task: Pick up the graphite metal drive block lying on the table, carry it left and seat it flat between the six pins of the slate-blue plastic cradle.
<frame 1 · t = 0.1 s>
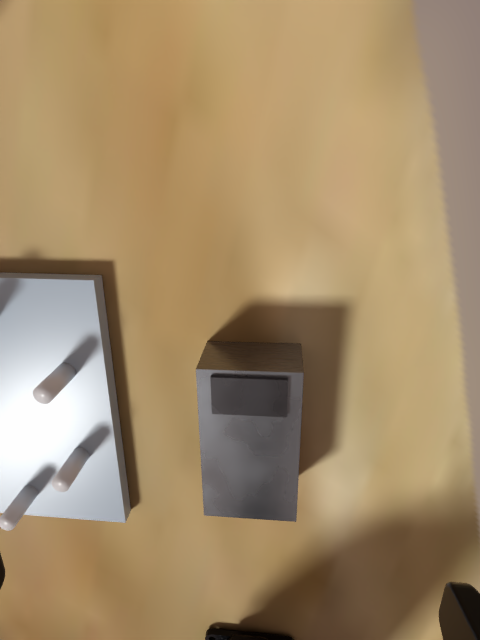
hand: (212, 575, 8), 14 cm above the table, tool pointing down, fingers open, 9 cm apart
drive block: (253, 411, 24), on the table
pin cradle: (21, 401, 25), on the table
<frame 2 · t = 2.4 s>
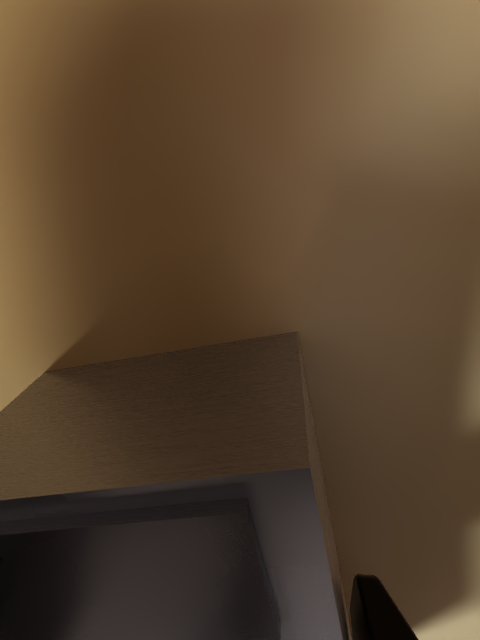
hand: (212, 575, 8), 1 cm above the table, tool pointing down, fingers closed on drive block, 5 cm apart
drive block: (218, 532, 9), on the table, touching gripper
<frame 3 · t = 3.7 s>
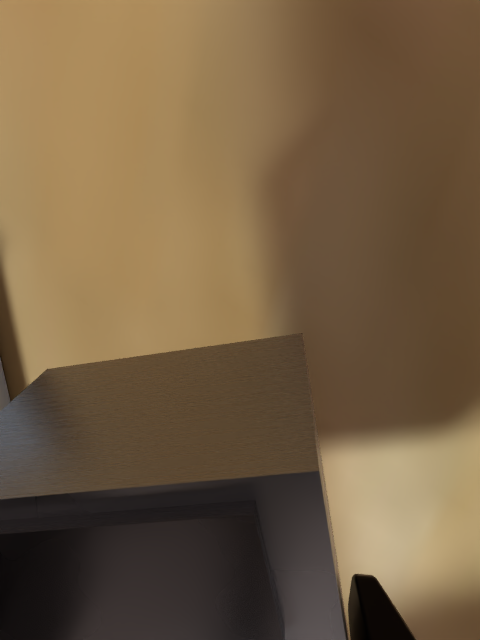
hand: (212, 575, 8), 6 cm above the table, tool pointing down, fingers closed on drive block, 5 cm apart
drive block: (218, 532, 9), point 5 cm above the table, touching gripper
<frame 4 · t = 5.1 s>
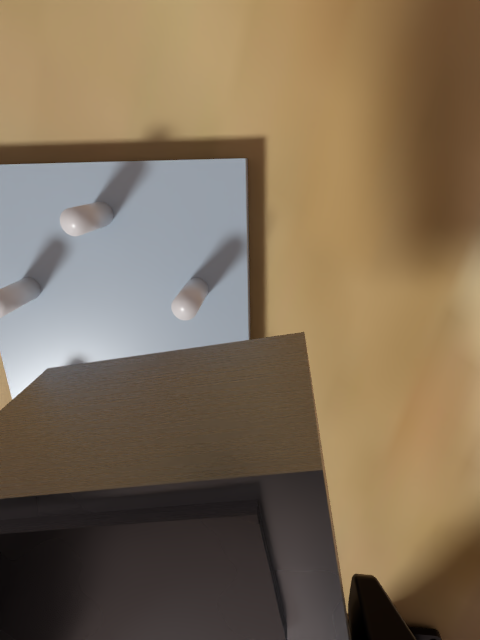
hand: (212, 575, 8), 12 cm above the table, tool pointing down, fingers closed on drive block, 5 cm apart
drive block: (219, 532, 9), point 11 cm above the table, touching gripper
pin cradle: (127, 338, 20), on the table
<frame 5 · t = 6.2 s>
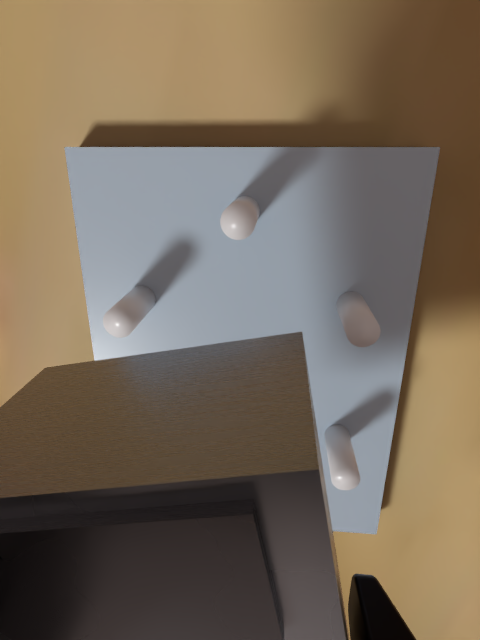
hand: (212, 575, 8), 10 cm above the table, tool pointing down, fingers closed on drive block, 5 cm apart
drive block: (217, 532, 9), point 8 cm above the table, touching gripper
pin cradle: (245, 358, 17), on the table
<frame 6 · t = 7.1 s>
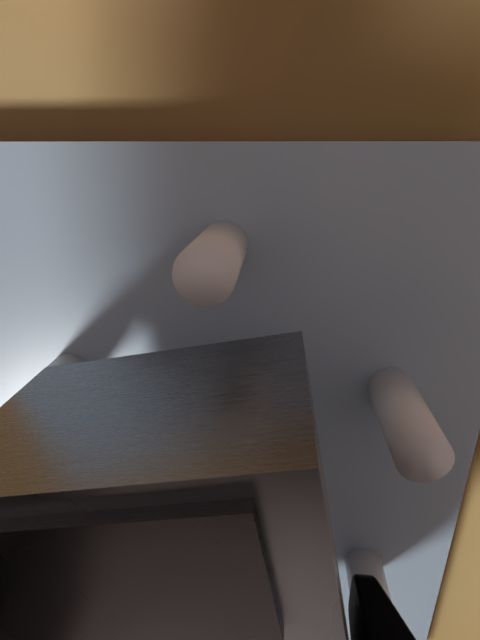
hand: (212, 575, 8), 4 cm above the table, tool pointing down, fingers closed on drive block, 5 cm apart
drive block: (217, 531, 9), point 3 cm above the table, touching gripper
pin cradle: (231, 448, 12), on the table
when the fingers open (3 cm above the table, at t = 8.0 s): drive block drops 1 cm, resting on pin cradle.
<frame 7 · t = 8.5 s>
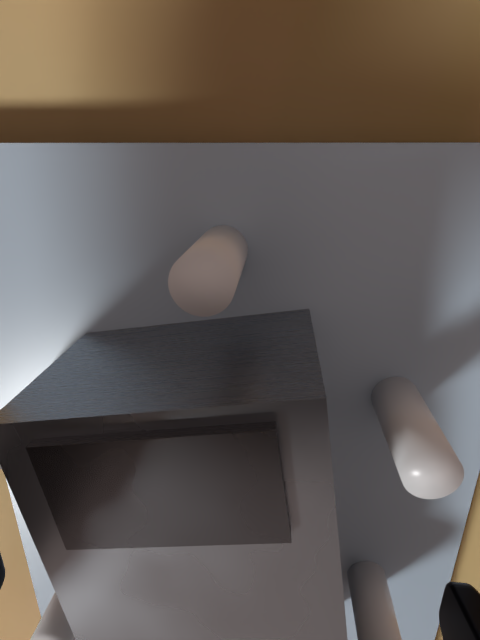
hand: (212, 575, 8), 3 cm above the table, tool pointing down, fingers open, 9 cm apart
drive block: (226, 484, 11), point 1 cm above the table, touching pin cradle
pin cradle: (230, 457, 11), on the table
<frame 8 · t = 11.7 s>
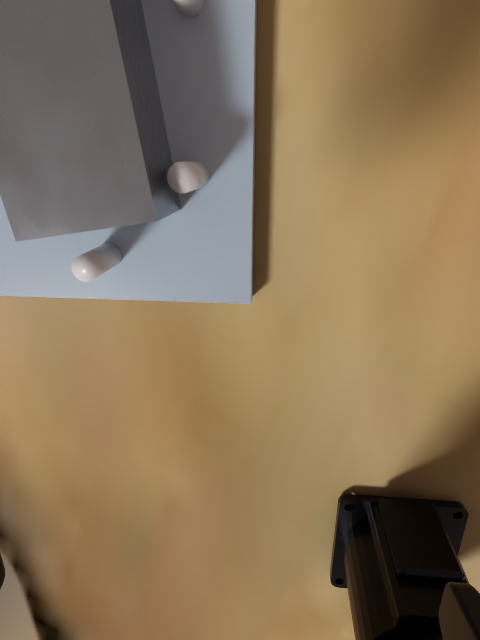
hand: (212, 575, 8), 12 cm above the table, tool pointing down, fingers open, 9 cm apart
drive block: (92, 95, 15), point 1 cm above the table, touching pin cradle
pin cradle: (103, 98, 16), on the table
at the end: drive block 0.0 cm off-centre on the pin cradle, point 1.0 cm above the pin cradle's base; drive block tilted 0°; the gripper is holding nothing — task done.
